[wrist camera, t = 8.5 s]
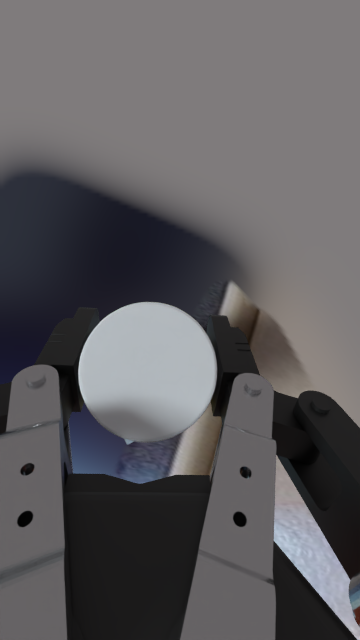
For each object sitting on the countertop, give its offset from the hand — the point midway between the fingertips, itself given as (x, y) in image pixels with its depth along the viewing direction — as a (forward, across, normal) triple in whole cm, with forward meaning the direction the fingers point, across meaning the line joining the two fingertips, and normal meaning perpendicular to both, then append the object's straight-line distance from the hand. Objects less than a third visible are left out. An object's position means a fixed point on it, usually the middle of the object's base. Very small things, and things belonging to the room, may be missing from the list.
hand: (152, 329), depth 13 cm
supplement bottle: (+2, 0, +4) cm, 5 cm away
